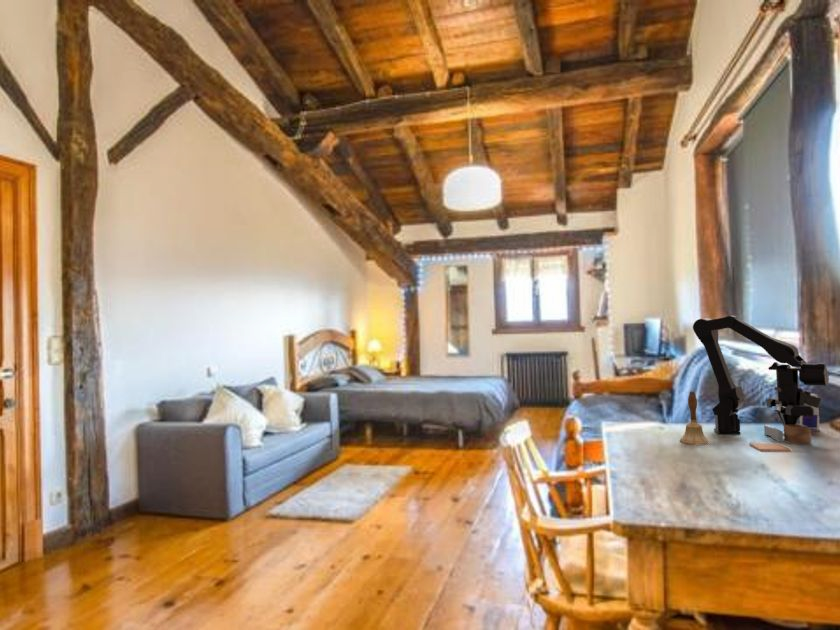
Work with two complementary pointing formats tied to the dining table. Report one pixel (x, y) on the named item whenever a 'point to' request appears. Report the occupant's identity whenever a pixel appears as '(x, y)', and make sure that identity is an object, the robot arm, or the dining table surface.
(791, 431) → the walnut block
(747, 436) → the dining table surface
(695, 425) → the hand bell
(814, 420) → the energy drink
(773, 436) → the channel
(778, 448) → the coaster
